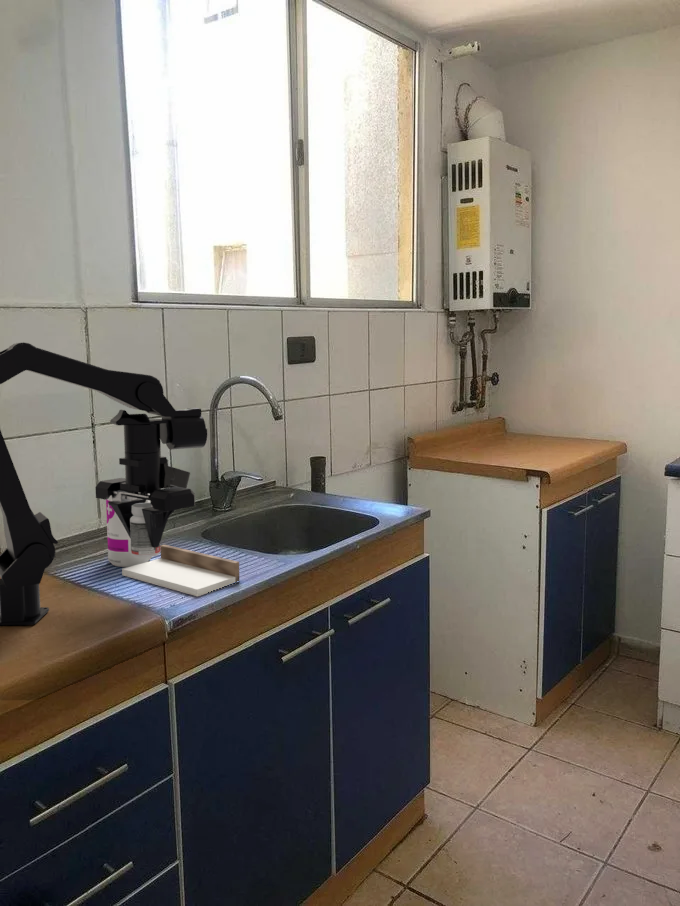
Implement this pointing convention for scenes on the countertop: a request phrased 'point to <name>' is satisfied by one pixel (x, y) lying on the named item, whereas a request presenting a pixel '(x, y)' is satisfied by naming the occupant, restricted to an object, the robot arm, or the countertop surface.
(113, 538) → the supplement can
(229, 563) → the shelf board
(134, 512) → the pill bottle
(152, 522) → the robot arm
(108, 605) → the countertop surface
